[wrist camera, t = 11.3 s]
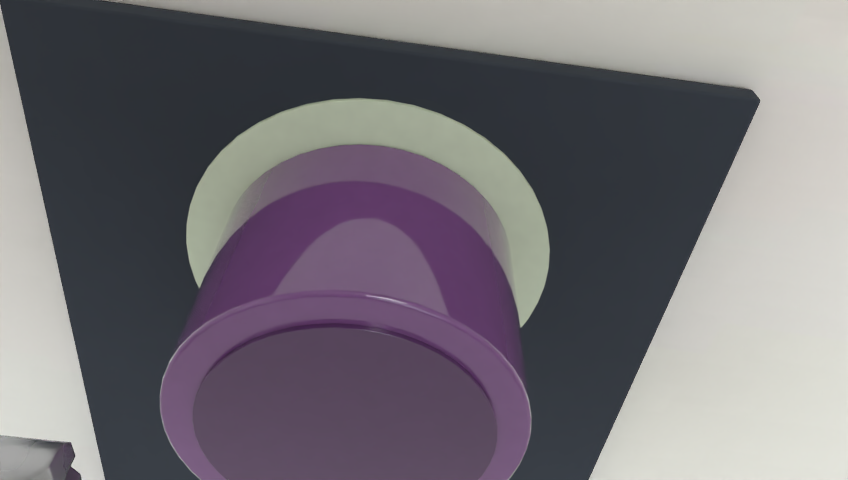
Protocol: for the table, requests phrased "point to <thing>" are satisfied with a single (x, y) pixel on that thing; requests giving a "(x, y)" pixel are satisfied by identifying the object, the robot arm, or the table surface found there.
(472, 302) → the purple round cup
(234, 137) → the mat
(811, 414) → the table surface
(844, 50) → the table surface
